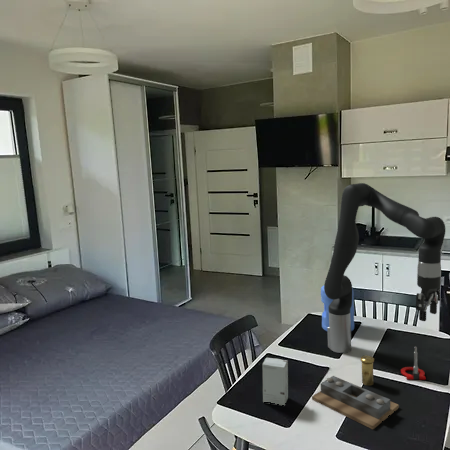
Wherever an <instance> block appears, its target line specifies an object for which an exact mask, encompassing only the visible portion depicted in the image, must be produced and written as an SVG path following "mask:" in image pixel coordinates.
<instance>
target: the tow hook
mask: <svg viewBox="0 0 450 450" xmlns="http://www.w3.org/2000/svg"><path fill="white" fill-rule="evenodd" d="M407 371H412V374H410V373H408V372H407ZM400 373H401V375H403V376H404V377H405V378H406V380H412V381H422V380H423V381H425V380H426V376H425V375H426V374H425V371H424V370H423V369H420V368H419V366H418V347H417V346H414V351H413V366H405V367H402V368H401V369H400Z"/></svg>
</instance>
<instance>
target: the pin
mask: <svg viewBox="0 0 450 450" xmlns="http://www.w3.org/2000/svg"><path fill="white" fill-rule="evenodd" d="M360 362H361V383H362V384H363V385H364V386H369V387H370V386H373V385H374V363H375V358H374V357H373V356H370V355H362V356H360Z"/></svg>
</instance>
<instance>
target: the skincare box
mask: <svg viewBox="0 0 450 450" xmlns="http://www.w3.org/2000/svg"><path fill="white" fill-rule="evenodd" d="M288 362H289V360H287V359H280V358H272V357H266V358H265V359H264V361H263V362H262V402H263V403H264V402H271V403H275V404H274V405H277V404H279V405H278V406H282V405H284V406H283V407H285V406H286V404H285V403H287V401H288V399H289V377H288V376H289V367H288V366H289V363H288Z"/></svg>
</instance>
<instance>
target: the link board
mask: <svg viewBox="0 0 450 450" xmlns="http://www.w3.org/2000/svg"><path fill="white" fill-rule="evenodd" d="M311 399H312V401H314V402H316V403H318V404H320V405H322V406H324V407H326V408H328V409H330V410H333V411H335V412H336V413H338V414H341V415H342V416H345V417H347V418H349V419H351V420H353V421H354V422H357V423H359V424H360V425H362V426H365V427H367V428H369V429H371V430H375V429H376V428H377V427H378V426H379V425H380V424H382V423H383V422H384V421H385V420H386V419H388V418H389V417H390V416H391V415H392V414H393V413H394V411H395V412H396V411H398V409H399V407H400V405H399V404H398V403H395V402H394V401H391V399H390V398H388V397H385V396H383V395H380V394H378V393H376V392H373V391H371V390H368V389H366V388H364V387H361V386H358V385H357V384H353V383H352V382H349V381H346V380H345V379H342V378H340V377H337V376H336V375H332V376H330V377H327V378H326V380H324V381H322V382H321V383H320V390H319V391H318V392H317V393H315V394H313V395H312V396H311ZM389 415H390V416H389ZM388 416H389V417H388ZM382 421H383V422H382Z"/></svg>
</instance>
